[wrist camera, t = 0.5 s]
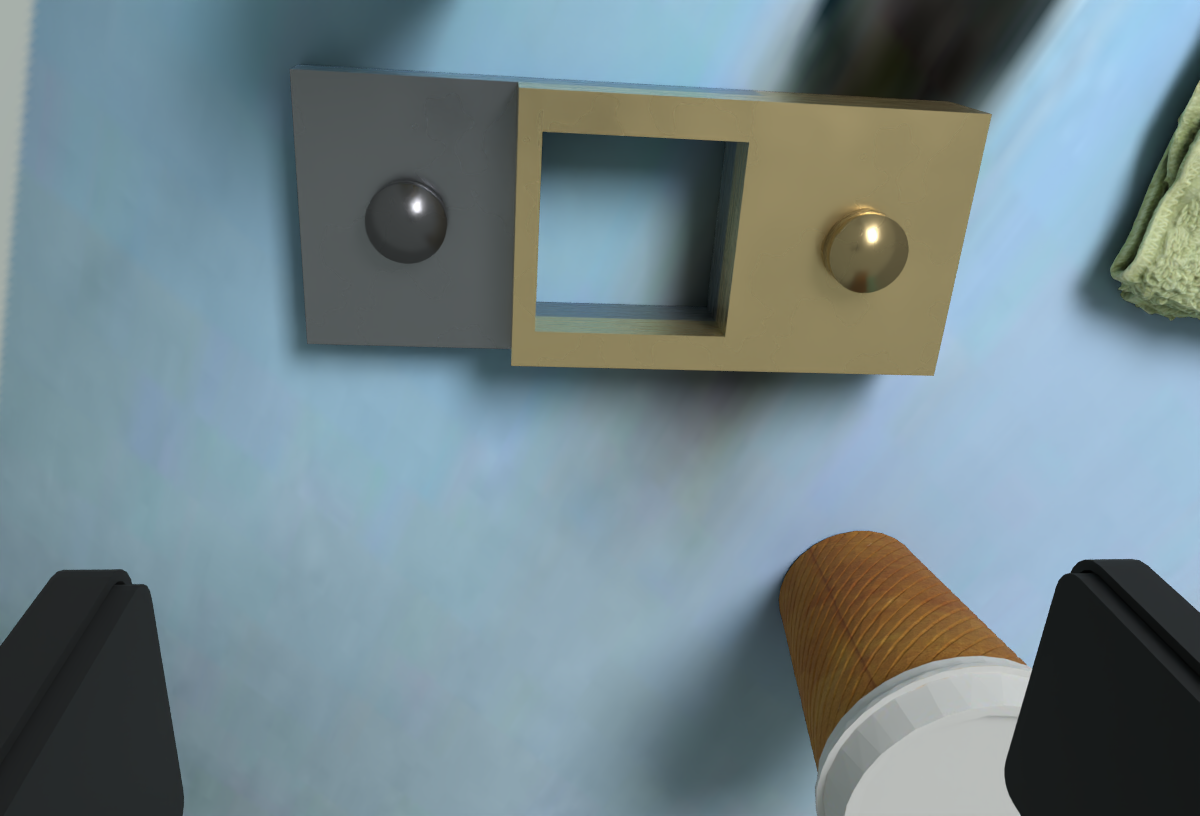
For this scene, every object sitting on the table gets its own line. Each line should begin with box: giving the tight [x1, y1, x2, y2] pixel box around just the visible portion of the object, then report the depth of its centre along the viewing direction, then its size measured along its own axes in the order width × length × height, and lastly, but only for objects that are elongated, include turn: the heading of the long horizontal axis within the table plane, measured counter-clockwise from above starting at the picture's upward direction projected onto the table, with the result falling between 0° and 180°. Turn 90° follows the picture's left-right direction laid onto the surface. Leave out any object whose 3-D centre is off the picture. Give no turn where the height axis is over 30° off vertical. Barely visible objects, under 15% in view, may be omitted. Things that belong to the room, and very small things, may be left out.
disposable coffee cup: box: [779, 531, 1032, 816], centre depth 36 cm, size 10×10×12 cm
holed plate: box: [290, 64, 992, 376], centre depth 32 cm, size 9×22×4 cm, turn 87°
